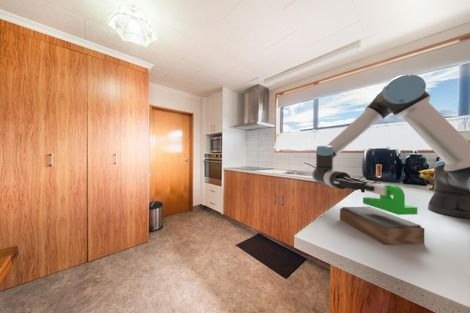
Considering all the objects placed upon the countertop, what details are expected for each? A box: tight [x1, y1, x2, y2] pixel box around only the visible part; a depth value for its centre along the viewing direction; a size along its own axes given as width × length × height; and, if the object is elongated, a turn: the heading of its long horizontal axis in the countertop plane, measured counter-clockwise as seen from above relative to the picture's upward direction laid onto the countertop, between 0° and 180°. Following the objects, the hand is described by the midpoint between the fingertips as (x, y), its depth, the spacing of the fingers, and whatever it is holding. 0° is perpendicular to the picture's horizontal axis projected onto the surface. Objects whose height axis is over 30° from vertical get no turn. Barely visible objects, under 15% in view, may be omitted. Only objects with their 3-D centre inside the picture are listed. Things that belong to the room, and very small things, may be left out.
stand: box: [339, 206, 425, 246], centre depth 55 cm, size 12×18×5 cm, turn 4°
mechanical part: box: [362, 184, 418, 216], centre depth 54 cm, size 12×6×8 cm, turn 4°
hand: (389, 191), depth 51 cm, fingers closed on mechanical part, 2 cm apart
